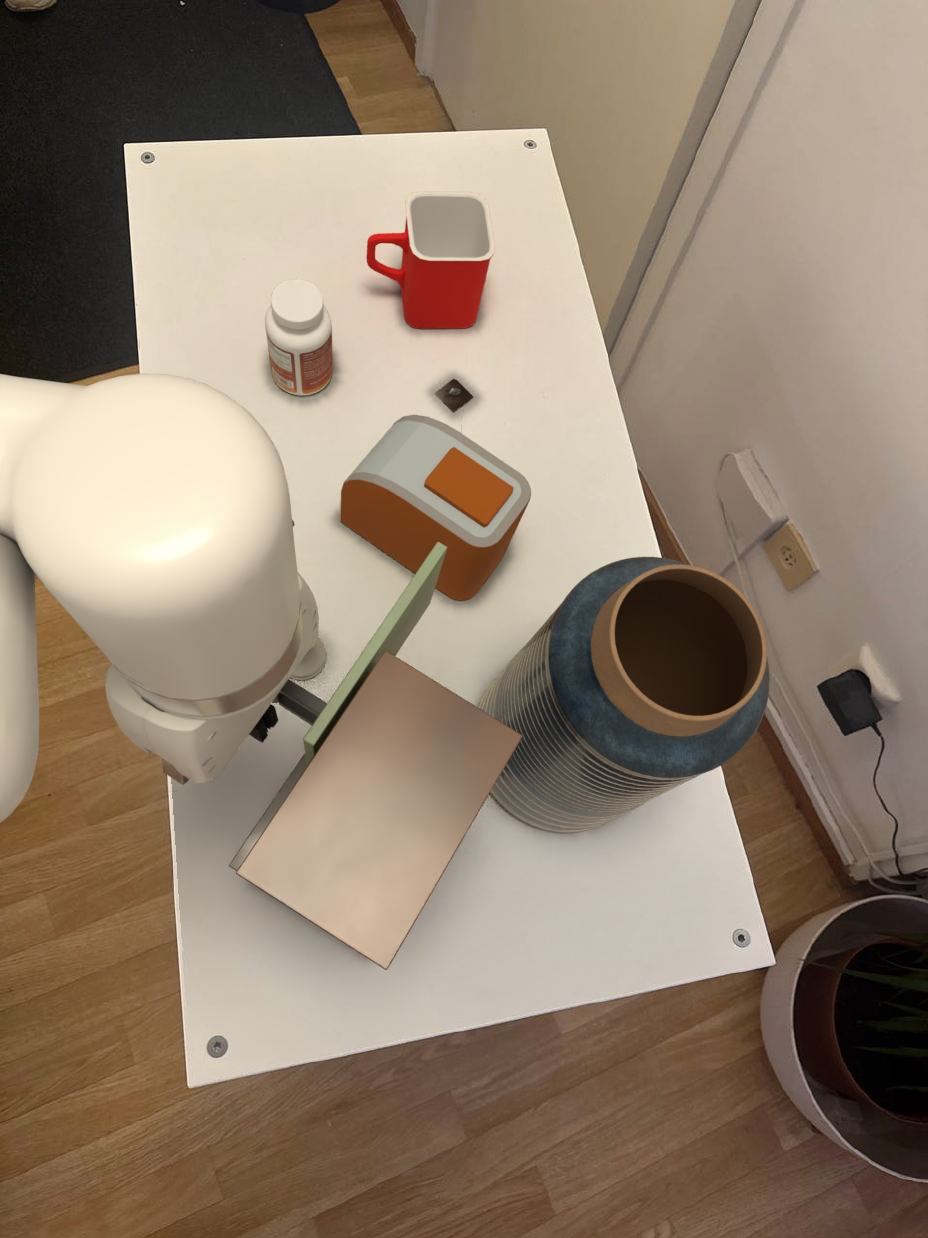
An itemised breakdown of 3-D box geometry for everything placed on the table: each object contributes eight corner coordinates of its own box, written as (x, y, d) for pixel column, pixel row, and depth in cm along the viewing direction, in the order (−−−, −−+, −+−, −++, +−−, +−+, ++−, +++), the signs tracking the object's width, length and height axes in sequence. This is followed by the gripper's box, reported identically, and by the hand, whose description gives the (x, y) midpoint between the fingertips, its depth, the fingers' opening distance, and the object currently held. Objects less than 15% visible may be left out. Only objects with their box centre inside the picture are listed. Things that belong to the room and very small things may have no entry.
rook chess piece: (333, 642, 81) (333, 614, 73) (317, 687, 79) (315, 663, 72) (286, 628, 81) (281, 598, 73) (269, 672, 79) (262, 647, 72)
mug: (471, 267, 97) (486, 191, 87) (480, 330, 94) (497, 260, 84) (361, 266, 95) (364, 189, 85) (367, 331, 92) (371, 260, 82)
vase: (664, 814, 80) (859, 753, 50) (491, 850, 77) (591, 806, 47) (619, 644, 85) (773, 497, 55) (454, 671, 82) (524, 530, 52)
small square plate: (453, 413, 90) (453, 407, 89) (434, 393, 91) (434, 387, 90) (473, 397, 91) (474, 390, 90) (454, 377, 92) (455, 371, 90)
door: (246, 730, 57) (229, 693, 47) (365, 562, 61) (371, 500, 52) (316, 774, 56) (313, 746, 47) (430, 602, 61) (448, 546, 52)
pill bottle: (333, 347, 91) (333, 273, 80) (331, 399, 89) (331, 330, 79) (271, 344, 90) (263, 268, 80) (269, 396, 88) (260, 325, 78)
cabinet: (255, 880, 73) (205, 854, 44) (348, 739, 78) (358, 632, 49) (365, 950, 73) (386, 970, 44) (452, 804, 78) (523, 735, 49)
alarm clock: (513, 544, 87) (544, 479, 74) (465, 609, 84) (489, 553, 71) (391, 460, 88) (400, 382, 75) (339, 521, 85) (340, 451, 72)
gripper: (240, 434, 38) (269, 586, 55) (-4, 724, 32) (114, 792, 50) (388, 526, 37) (371, 650, 54) (165, 835, 32) (224, 864, 49)
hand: (248, 718), depth 52 cm, fingers closed
